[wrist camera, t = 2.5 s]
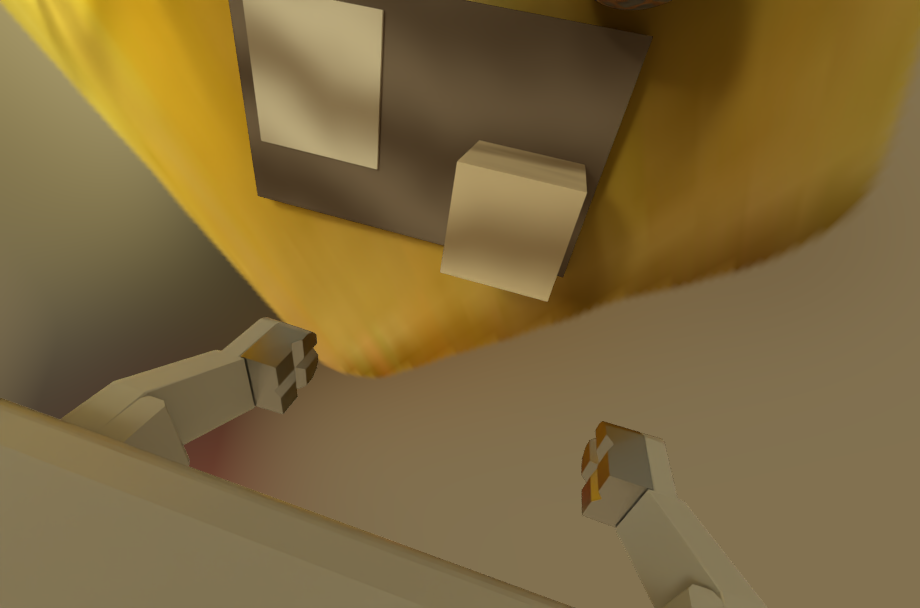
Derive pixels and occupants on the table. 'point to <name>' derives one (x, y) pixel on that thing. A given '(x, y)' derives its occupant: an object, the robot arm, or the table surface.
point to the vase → (632, 4)
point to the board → (420, 100)
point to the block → (512, 218)
